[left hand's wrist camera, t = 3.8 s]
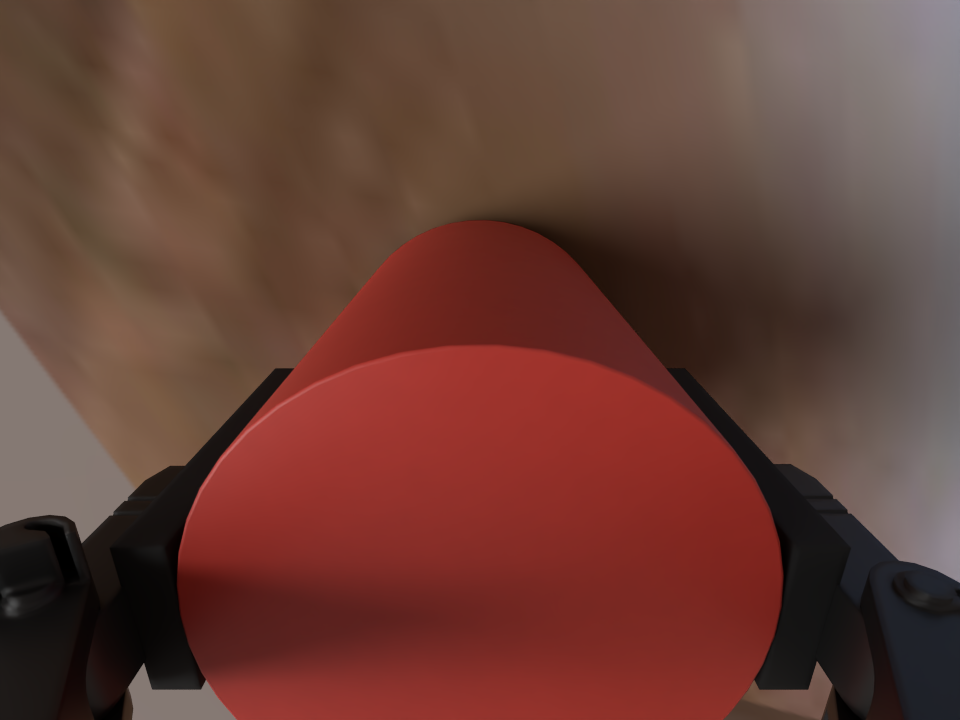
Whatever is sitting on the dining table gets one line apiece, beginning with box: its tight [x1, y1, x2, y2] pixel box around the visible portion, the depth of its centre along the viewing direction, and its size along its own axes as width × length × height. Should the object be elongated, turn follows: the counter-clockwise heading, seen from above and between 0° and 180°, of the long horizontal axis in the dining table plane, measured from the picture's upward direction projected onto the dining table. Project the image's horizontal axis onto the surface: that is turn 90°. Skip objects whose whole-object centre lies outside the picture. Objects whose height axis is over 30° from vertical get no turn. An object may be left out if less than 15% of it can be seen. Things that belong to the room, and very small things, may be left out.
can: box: [177, 220, 784, 720], centre depth 13 cm, size 9×9×12 cm
